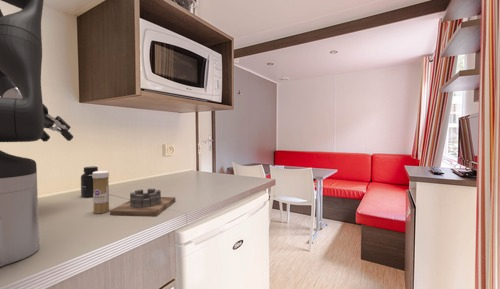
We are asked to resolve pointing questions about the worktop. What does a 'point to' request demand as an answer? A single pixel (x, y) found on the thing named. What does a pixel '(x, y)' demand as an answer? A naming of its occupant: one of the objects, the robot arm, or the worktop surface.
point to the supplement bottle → (87, 181)
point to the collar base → (143, 210)
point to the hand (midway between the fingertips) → (60, 139)
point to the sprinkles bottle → (100, 191)
